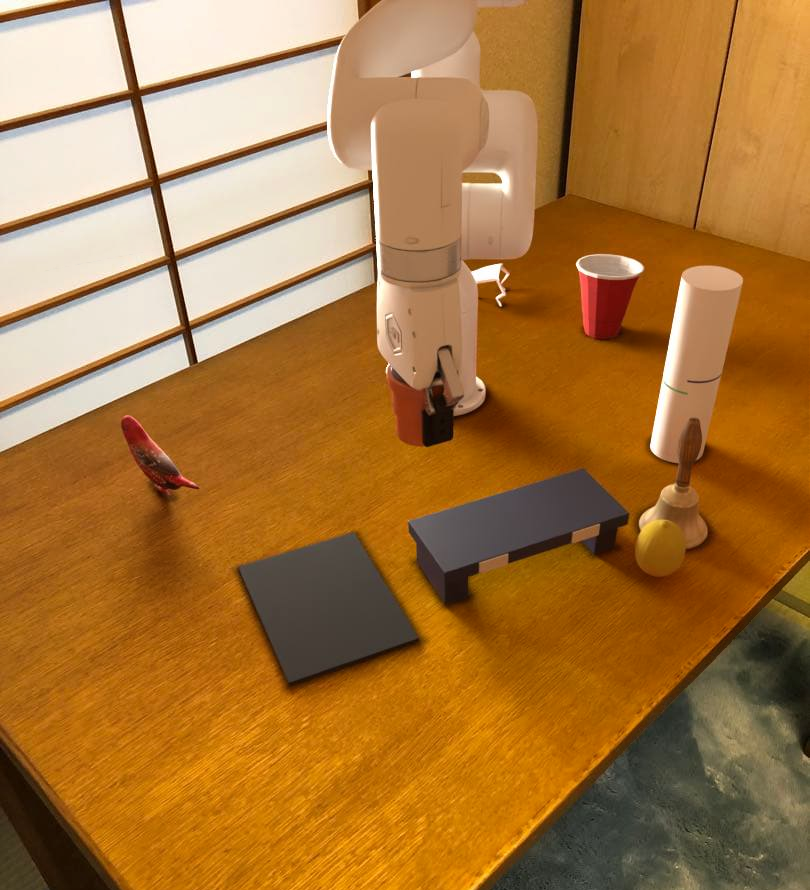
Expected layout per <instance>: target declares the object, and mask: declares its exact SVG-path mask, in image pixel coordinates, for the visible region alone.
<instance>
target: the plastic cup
mask: <svg viewBox="0 0 810 890" xmlns="http://www.w3.org/2000/svg"><path fill="white" fill-rule="evenodd" d="M575 265H576V267H577V269H578V275H579V283H580V299H581V312H582V322H583V328H584V330H583V331H584V332H585V334H586V335H587V336H589V337H591V338H593V339H597V340H598V339H599V340H609V339H612V338H615V337H616V336H618V334H619V332H620V330H621V327H622V324H623V321H624V318H625V316H626V313H627V310H628V307H629V304H630V301H631V297H632V295H633V292H634V289H635V287H636V284H637V282H638V280H639V278H640V276H641V275H642V274H643V272H644V270H645V266H644V265H643V263H642V262H640V261H638V260H636V259H634V258H631V257H628V256H624V255H617V254H609V253H608V254H607V253H598V254H597V253H596V254H590V255H584V256H582V257H581V258H578V260H577V261H576V263H575Z"/></svg>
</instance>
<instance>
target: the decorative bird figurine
mask: <svg viewBox="0 0 810 890" xmlns="http://www.w3.org/2000/svg"><path fill="white" fill-rule="evenodd" d="M120 427H121V430H122V434H123V436H124V439H125V441H126V443H127V446H128V448H129V450H130V451H129V452H130V453H131V455H132V457H133V459H134V461H135V463H136V464H137V466H138V468H139V469H140V470H141V471H142V473H143V474H144V475H145V476H146V477H147V478H148V480H150V481H149V482H151V483H152V484H153V485H154V487H155V489H157V490H158V491H159V492H161V493H163V494H165V495H166V496H168V497H170V498H172V495H171V493H170V492H169V491H168V490H170V491H171V490H172V491H177V490H179V489H180V488H182V487H185V488H188V489H189V488H190V489H193V490H200V486H198V485H197V484H195V483H194V482H193V481H191V480H189V479H187V478H185V477H184V476H183V475H182V473H181V472H180V470H179V469H178V467H177V466H176V465H175V463H174V462H173V461H172V459H171V458H170V457H169V456H168V455H167V454H166V453H165V452H164V451H163V450H162V449H161V447H159V445H158V444H157V443H156V442H155V441H154V440H153V439H152V438H151V437H150V435H149V434H148V433H147V432H146V429H144V427H143V425H141V424H140V423H139V421H137V420H136V419H135V418H134V417H133V416H132V415H124V416H123V417H122V418H121V420H120Z"/></svg>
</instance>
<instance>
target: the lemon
mask: <svg viewBox="0 0 810 890" xmlns="http://www.w3.org/2000/svg"><path fill="white" fill-rule="evenodd" d="M686 550H687V549H686V542H685V537H684V533H683V532H682V530H681V528H680V527H679V526H678V525H676V524H675V523H673V522H671V521H669V520H663V519H662V520H655V521H652V522H650V523H648V524H647V525H646V526H645V527H644V528H643V529H642V531H641V530H640V532H639V534H638V536H637V539H636V540H635V547H634V556H635V560H636V563H637V565H638V566H639V568H640V570H642V571H643V572H644V573H645V574H647V575H649V576H652V577H656V578H657V577H659V578H661V577H662V578H663V577H667V576H669V575H671V574H673V573H675V572H676V571H677V570H678V569H679V568H680V566H681V565H682V564H683V561H684V559H685V555H686Z"/></svg>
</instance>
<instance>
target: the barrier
mask: <svg viewBox="0 0 810 890" xmlns="http://www.w3.org/2000/svg"><path fill="white" fill-rule="evenodd" d="M629 519H630V512H629V511H628V510H627V509H626V508H625V507H624V506H623V505H622V504H621V503H620V502H619V501H618V500H617V499H616V498H615V497H614V496H613V495H612V494H611V493H610V492H609V491H608V490H607V489H605V487H604V486H602V484H601V483H600V482H599V481H598V480H597V479H595V477H593V476H592V475H591V474H590V473H589V472H588V471H587V470H586V468H584V467H583V468H579V469H576V470H575V469H574V470H572V471H569V472H566V473H561V474H560V475H556V476H552V477H548V478H546V479H542V480H539V481H536V482H532V483H529V484H526V485H523V486H519V487H516V488H513V489H509V490H505V491H502V492H499V493H496V494H492V495H490V496H486V497H483V498H480V499H476V500H473V501H470V502H466V503H463V504H458V505H456V506H452V507H449V508H447V509H443V510H439V511H436V512H433V513H430V514H425V515H422V516H420V517H416V518H413V519H410V520H407V524H408V525H407V526H408V528H407V529H408V534H409V535H410V537H411V538H412V539H413V541H414V542H415V548H416V550H415V551H416V564H417V565H418V566H419V568H420V569H421V571H422V572H423V574H424V576H425V577H426V579H427V580H428V581H429V583H430V584H431V586H432V587H433V589H434V591H435V592H436V593H437V595H438V596H439V598H440V599H441V601H442V602H443V604H444V605H447V604H450V603H454V602H457V601H459V600H462V599H466V598H468V597H469V578H470V577H472V576H475V575H481V574H484V573H488V572H490V571H494V570H497V569H499V568H502V567H505V566H506V567H507V566H508V565H509V564H511V563H515V562H517V561H521V560H524V559H528V558H531V557H533V556H536V555H540V554H543V553H546V552H548V551H552V550H554V549H557V548H561V547H564V546H566V545H569V544H576V543H579V542H582V543H583V544H584V545H585V546H586V548H587V549H588V550H589V551H590V552H591V553H592V554H593V555H597V554H600V553H602V552H605V551H609V550H612V549H615V548H616V543H617V537H618V530H619V528H622V527H624V526H627V525H628V524H629Z"/></svg>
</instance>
